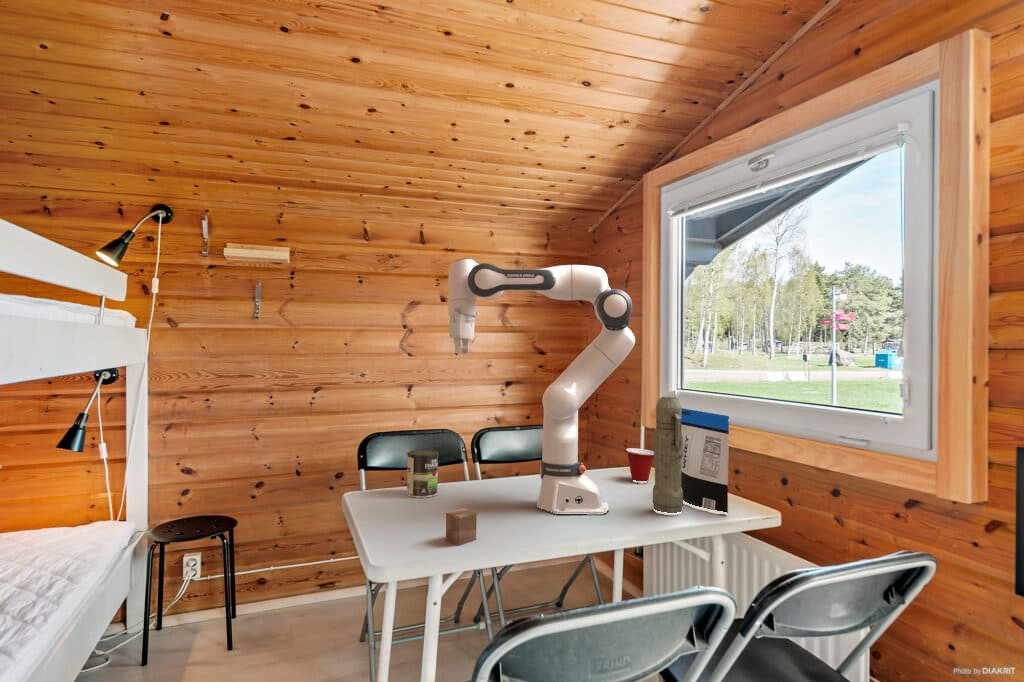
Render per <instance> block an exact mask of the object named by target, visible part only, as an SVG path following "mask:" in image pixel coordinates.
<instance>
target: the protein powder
mask: <svg viewBox="0 0 1024 682" xmlns="http://www.w3.org/2000/svg"><path fill="white" fill-rule="evenodd" d="M681 408H682V413H681V419H682V429H681V432H682V436H683V456H682V458H681V487H682V490H683V500H684V501H685V502H687V503H689V504H692V505H695V506H699V507H703V508H707V509H711V510H717V511H723V512H727V513H728V514H729V506H728V505H729V501H728V500H729V498H728V497H729V494H728V493H729V491H728V490H729V489H728V488H729V451H730V450H729V447H730V446H729V445H730V444H729V443H730V441H729V440H730V439H729V437H730V436H729V435H730V433H729V432H730V430H729V429H730V427H729V426H730V425H729V424H730V421H729V420H730V415H727V414H726V415H724V414H719V413H712V412H706V411H701V410H695V409H688V408H683V407H681Z"/></svg>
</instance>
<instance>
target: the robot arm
mask: <svg viewBox="0 0 1024 682" xmlns="http://www.w3.org/2000/svg"><path fill="white" fill-rule="evenodd" d="M447 279H448V280H447V289H448V291H449V293H448V300H447V315H448V317H449V325H448V327H449V329H448V334H449V335H448V336H449V338H450V339H453V344H454V349H455V350H454V354H460V355H461V354H462V355H468V354H469V347H470V341H473V339H474V338H475V327H476V325H475V323H476V319H475V318H477V314H478V313H477V299H479V298H480V299H484V300H486V301H494V300H497V299H499V298H501V297H502V295H503V294H504V292H505V291H527V292H528V291H530V292H535V293H539V294H542V295H543V296H545V297H548V298H549V299H553V300H558V301H586V302H589V303H591V304H590V305H591V306H592V309H593V310H592V311H593V314H594V316H595V318H596V319H597V321H598V322H599V323H601V324H602V329H601V331H600V332H599V334H598V335H597V336H596V337H595V339H593V340H592V341H591V342H590V343H589V344H588V345H587V347H586V348H585V349H584V350H583V351H582V352H581V353H579V355H578V356H577V357H576V358H575V359H574V360H572V362H571V363H570V364H569V365H568V366H567V367H566V369H565V370H564V371H563V372H561V374H559V376H558V377H557V378H556V379H555V380H554V381H553V382H552V383H550V384H549V385H548V386H547V388H546V389H545V391H544V393H543V396H542V401H541V402H542V406H543V422H542V423H543V424H542V460H541V462H540V466H539V467H540V473H539V474H540V480H541V481H540V488H539V495H538V499H537V502H536V505H537V506H536V508H538V507H539V508H538V509H540V508H541V509H540V510H542V509H545V510H548V511H547V512H549V511H552V512H554V513H558V514H561V513H562V514H563V513H604V512H607V511H608V510H609V511H610V505H609V503H608V502H607V501H605V500H604V499H603V494H602V491H601V488H600V486H599V485H598V484H596V483H595V482H594V481H593V480H592V479H590V478H589V477H588V476H587V475H586V474H585V472H586V471H587V470H586V469H587V468H586V466H585V465H584V463H583V462H581V461H579V460H578V458H579V457H578V455H579V443H578V442H579V409H580V408H581V407H582V406H583V405H584V403H585V402H586V401H587V400H588V399H589V398H590V397H591V396H592V395H593V393H595V391H596V390H598V388H599V387H600V386H601V384H602V383H603V382H604V381H606V379H607V378H609V376H610V375H611V374H612V373H613V372H614V371H615V370H617V368H619V366H620V365H621V364H622V362H624V360H625V359H626V358H627V356H628V355H629V354H630V353H631V351H632V349H633V348H634V346H635V344H636V338H635V335H634V333H633V332H632V330H631V329H630V328H629V327H628V326H629V324H630V319H631V316H632V313H633V302H632V299H631V297H630V296H629V294H628V293H627V292H625V291H624V290H622V289H618V288H611V287H610V285H609V280H608V275H607V273H606V271H605V270H604V269H603V268H602V267H598V266H593V265H587V264H586V265H584V264H566V265H565V264H564V265H555V266H549V267H544V268H543V267H542V268H537V269H536V268H535V269H507V268H506V269H505V268H501V267H498V266H495V265H493V264H490V263H487V262H485V263H484V262H483V263H478V262H476V261H475V260H474V259H472V258H461V259H456V260H455V261H453V262H451V264H450V266H449V270H448V277H447ZM545 510H544V511H545ZM552 512H551V513H552ZM554 513H553V514H554Z"/></svg>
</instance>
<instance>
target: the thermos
mask: <svg viewBox="0 0 1024 682" xmlns="http://www.w3.org/2000/svg"><path fill="white" fill-rule="evenodd" d="M657 400H658V401H656V402H657V403H656V404H655V405H656V406H655V424H656V426H655V431H654V433H653V452H654V485H653V487H652V505H653V507H654V509H655V510H657V511H661V512H667V513H677V512H681V511H682V512H683V505H684V504H683V490H682V487H681V458H682V456H683V436H682V432H681V429H682V419H681V413H682V408H683V407H682V404H681V401H680V399H679V398H677V396H676V397H675V396H661V397H659V398H658V399H657ZM653 507H652V508H653Z"/></svg>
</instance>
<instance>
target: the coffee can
mask: <svg viewBox="0 0 1024 682" xmlns="http://www.w3.org/2000/svg"><path fill="white" fill-rule="evenodd" d="M406 453H407V454H406V455H407V470H406V471H407V474H406V475H407V476H406V478H407V479H406V481H407V487H406V496H407V495H408V496H407V497H409V496H410V497H409V498H413V497H416V498H415V499H428V498H427V497H430V498H434V497H436V496H437V495H438V493H439V492H438V483H439V480H438V479H439V478H438V477H439V475H438V474H439V473H438V472H439V470H438V469H439V451H436V450H433V449H430V450H429V449H416V450H410V451H407V452H406ZM433 496H434V497H433Z"/></svg>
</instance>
